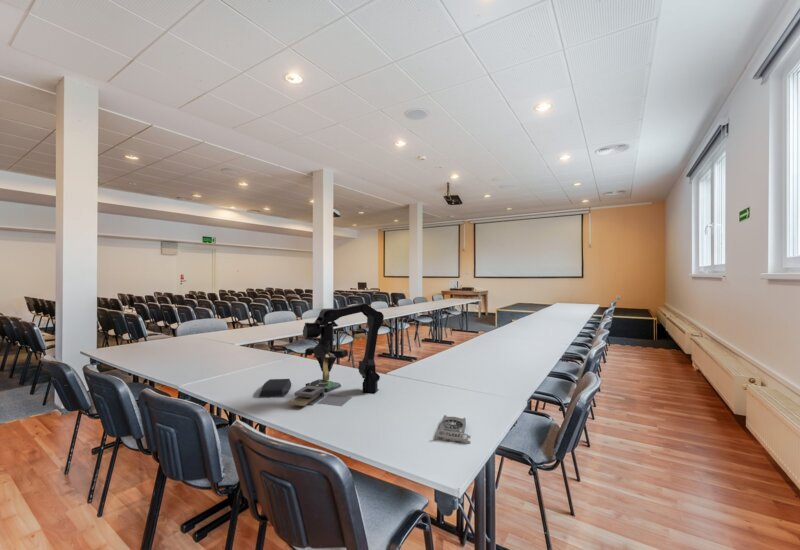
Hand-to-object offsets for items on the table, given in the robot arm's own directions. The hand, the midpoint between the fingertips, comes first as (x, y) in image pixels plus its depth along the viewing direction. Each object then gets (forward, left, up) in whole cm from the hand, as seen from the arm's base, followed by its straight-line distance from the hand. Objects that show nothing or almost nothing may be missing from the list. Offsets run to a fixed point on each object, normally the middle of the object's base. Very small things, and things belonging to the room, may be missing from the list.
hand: (326, 371), depth 155 cm
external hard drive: (+30, -6, -14) cm, 34 cm away
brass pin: (0, 0, -4) cm, 4 cm away
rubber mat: (-4, -2, -13) cm, 14 cm away
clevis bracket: (+7, +4, -13) cm, 16 cm away
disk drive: (+10, -17, -14) cm, 24 cm away
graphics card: (-60, +14, -14) cm, 63 cm away
